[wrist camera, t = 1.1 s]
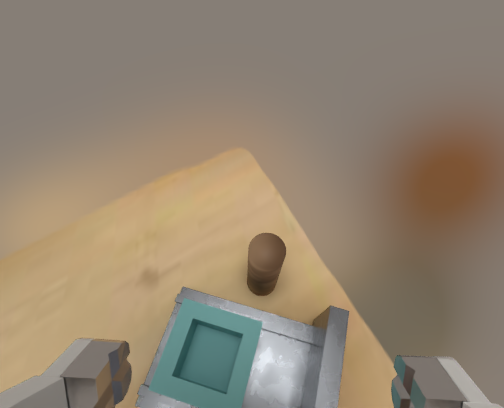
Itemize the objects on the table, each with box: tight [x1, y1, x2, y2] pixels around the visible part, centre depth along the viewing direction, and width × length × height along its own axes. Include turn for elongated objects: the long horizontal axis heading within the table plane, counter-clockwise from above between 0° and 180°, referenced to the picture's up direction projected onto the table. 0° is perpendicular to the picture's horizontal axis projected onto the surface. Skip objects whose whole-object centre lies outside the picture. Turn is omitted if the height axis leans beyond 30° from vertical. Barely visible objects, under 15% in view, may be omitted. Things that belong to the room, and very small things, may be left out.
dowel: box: [247, 233, 286, 296], centre depth 38 cm, size 4×4×12 cm
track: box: [135, 287, 349, 408], centre depth 34 cm, size 20×16×9 cm
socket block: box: [148, 298, 263, 408], centre depth 34 cm, size 9×9×7 cm
